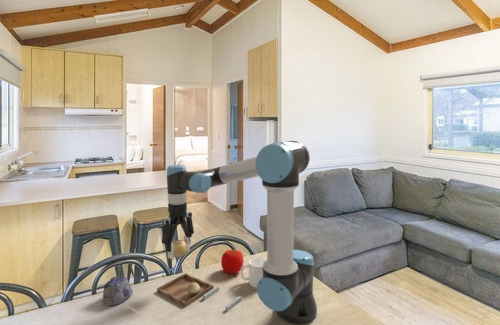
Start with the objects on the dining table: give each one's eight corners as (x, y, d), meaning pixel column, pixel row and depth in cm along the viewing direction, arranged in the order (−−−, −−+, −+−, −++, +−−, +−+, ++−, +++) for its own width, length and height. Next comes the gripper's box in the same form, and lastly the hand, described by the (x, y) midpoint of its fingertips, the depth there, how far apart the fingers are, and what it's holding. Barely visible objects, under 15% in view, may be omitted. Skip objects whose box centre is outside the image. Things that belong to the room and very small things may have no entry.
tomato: (220, 267, 147) (220, 246, 145) (241, 265, 148) (241, 244, 147) (222, 278, 136) (222, 256, 135) (245, 276, 138) (245, 254, 137)
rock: (120, 281, 129) (121, 268, 123) (135, 298, 125) (136, 285, 119) (96, 298, 121) (95, 284, 115) (111, 316, 117) (111, 302, 111)
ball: (202, 293, 124) (202, 282, 123) (193, 299, 120) (193, 287, 119) (194, 289, 126) (193, 278, 126) (185, 295, 122) (184, 283, 122)
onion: (165, 254, 126) (165, 238, 125) (182, 249, 132) (182, 234, 131) (174, 261, 120) (174, 245, 119) (191, 255, 126) (191, 239, 125)
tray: (213, 289, 127) (213, 285, 127) (185, 308, 115) (185, 303, 114) (185, 277, 137) (185, 273, 137) (157, 292, 125) (157, 288, 125)
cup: (268, 289, 128) (268, 266, 126) (240, 288, 128) (240, 266, 126) (267, 278, 136) (267, 257, 134) (241, 278, 136) (241, 257, 135)
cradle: (241, 301, 119) (241, 296, 118) (227, 312, 112) (227, 307, 112) (217, 290, 126) (216, 286, 126) (202, 300, 120) (202, 295, 119)
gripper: (190, 196, 133) (191, 244, 136) (150, 206, 117) (152, 261, 120) (201, 198, 129) (203, 248, 132) (162, 210, 112) (164, 266, 115)
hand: (179, 254), depth 126 cm, fingers closed on onion, 8 cm apart
